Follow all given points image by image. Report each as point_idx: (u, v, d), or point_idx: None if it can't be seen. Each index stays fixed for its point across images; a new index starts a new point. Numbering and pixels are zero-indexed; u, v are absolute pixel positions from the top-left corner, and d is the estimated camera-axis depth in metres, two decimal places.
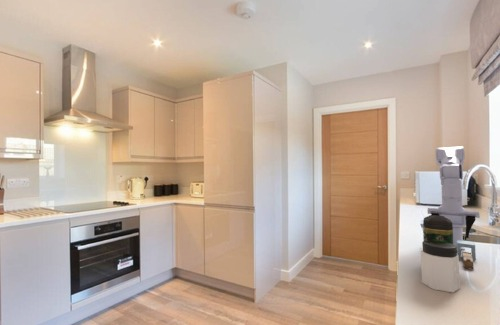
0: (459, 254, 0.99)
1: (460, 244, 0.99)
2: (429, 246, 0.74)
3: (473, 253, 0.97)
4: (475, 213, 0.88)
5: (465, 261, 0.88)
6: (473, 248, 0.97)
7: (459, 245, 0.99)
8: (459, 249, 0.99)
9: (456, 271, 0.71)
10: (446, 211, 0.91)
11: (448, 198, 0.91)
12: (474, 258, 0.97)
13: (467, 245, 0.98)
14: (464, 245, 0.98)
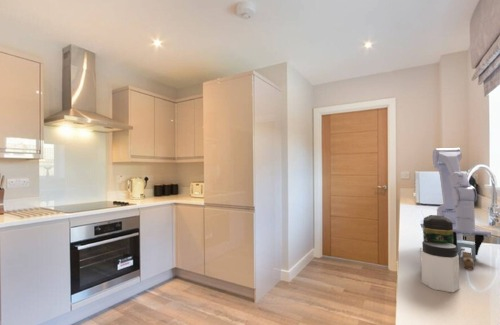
0: (459, 254, 0.99)
1: (460, 244, 0.99)
2: (429, 246, 0.74)
3: (473, 253, 0.97)
4: (487, 233, 0.96)
5: (465, 261, 0.88)
6: (473, 248, 0.97)
7: (459, 245, 0.99)
8: (459, 249, 0.99)
9: (456, 271, 0.71)
10: (460, 230, 0.99)
11: (462, 218, 0.99)
12: (474, 258, 0.97)
13: (467, 245, 0.98)
14: (464, 245, 0.98)
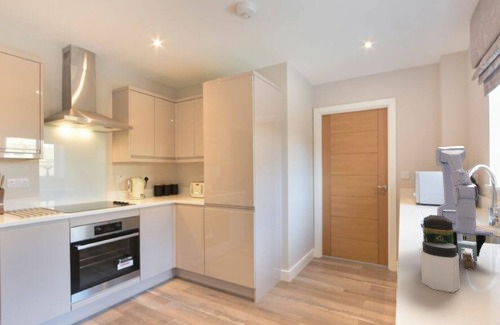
0: (460, 255, 0.95)
1: (461, 245, 0.94)
2: (429, 246, 0.74)
3: (474, 254, 0.92)
4: (489, 233, 0.91)
5: (465, 261, 0.88)
6: (474, 249, 0.92)
7: (460, 246, 0.95)
8: (460, 250, 0.95)
9: (456, 271, 0.71)
10: (460, 230, 0.95)
11: (462, 218, 0.94)
12: (475, 259, 0.92)
13: (468, 246, 0.93)
14: (465, 246, 0.94)
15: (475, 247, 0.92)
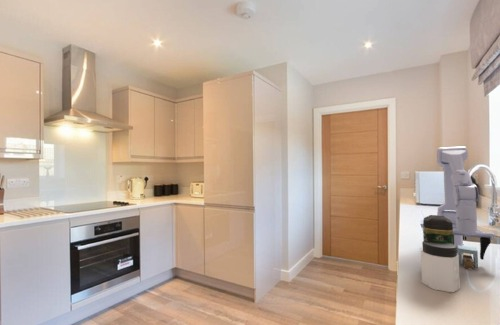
0: (460, 260, 0.92)
1: (461, 250, 0.92)
2: (429, 246, 0.74)
3: (475, 260, 0.90)
4: (490, 235, 0.89)
5: (465, 261, 0.88)
6: (475, 254, 0.90)
7: (460, 251, 0.92)
8: (460, 255, 0.92)
9: (456, 271, 0.71)
10: (461, 232, 0.92)
11: (463, 219, 0.92)
12: (476, 265, 0.89)
13: (469, 251, 0.91)
14: (465, 251, 0.91)
15: (476, 252, 0.90)
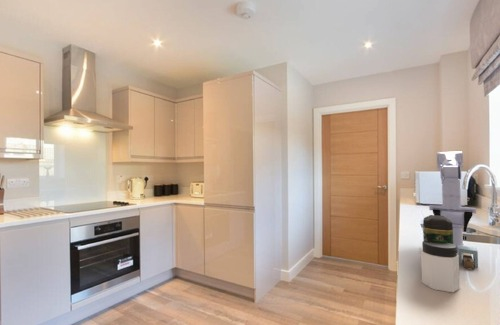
0: (460, 260, 0.92)
1: (461, 250, 0.92)
2: (429, 246, 0.74)
3: (475, 260, 0.90)
4: (472, 209, 0.98)
5: (465, 261, 0.88)
6: (475, 254, 0.90)
7: (460, 251, 0.92)
8: (460, 255, 0.92)
9: (456, 271, 0.71)
10: (446, 207, 1.01)
11: (448, 196, 1.01)
12: (476, 265, 0.89)
13: (469, 251, 0.91)
14: (465, 251, 0.91)
15: (476, 252, 0.90)
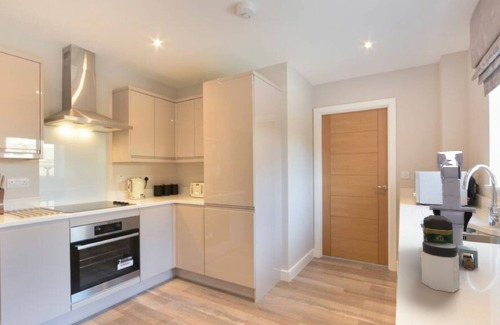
0: (460, 260, 0.92)
1: (461, 250, 0.92)
2: (429, 246, 0.74)
3: (475, 260, 0.90)
4: (472, 209, 0.98)
5: (465, 261, 0.88)
6: (475, 254, 0.90)
7: (460, 251, 0.92)
8: (460, 255, 0.92)
9: (456, 271, 0.71)
10: (446, 207, 1.01)
11: (448, 196, 1.01)
12: (476, 265, 0.89)
13: (469, 251, 0.91)
14: (465, 251, 0.91)
15: (476, 252, 0.90)
